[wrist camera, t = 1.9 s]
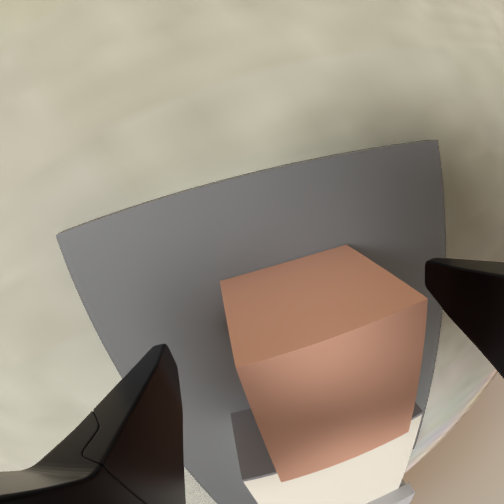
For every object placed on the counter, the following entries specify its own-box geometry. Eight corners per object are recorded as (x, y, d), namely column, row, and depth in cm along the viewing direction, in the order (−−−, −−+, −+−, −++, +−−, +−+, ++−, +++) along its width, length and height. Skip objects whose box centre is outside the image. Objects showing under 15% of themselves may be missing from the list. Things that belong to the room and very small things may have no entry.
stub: (356, 361, 13) (408, 431, 9) (256, 394, 13) (280, 482, 8) (346, 244, 11) (428, 298, 7) (219, 281, 11) (234, 368, 6)
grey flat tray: (411, 443, 19) (441, 488, 14) (225, 507, 18) (235, 562, 12) (429, 139, 11) (528, 146, 6) (61, 231, 10) (-23, 288, 5)
